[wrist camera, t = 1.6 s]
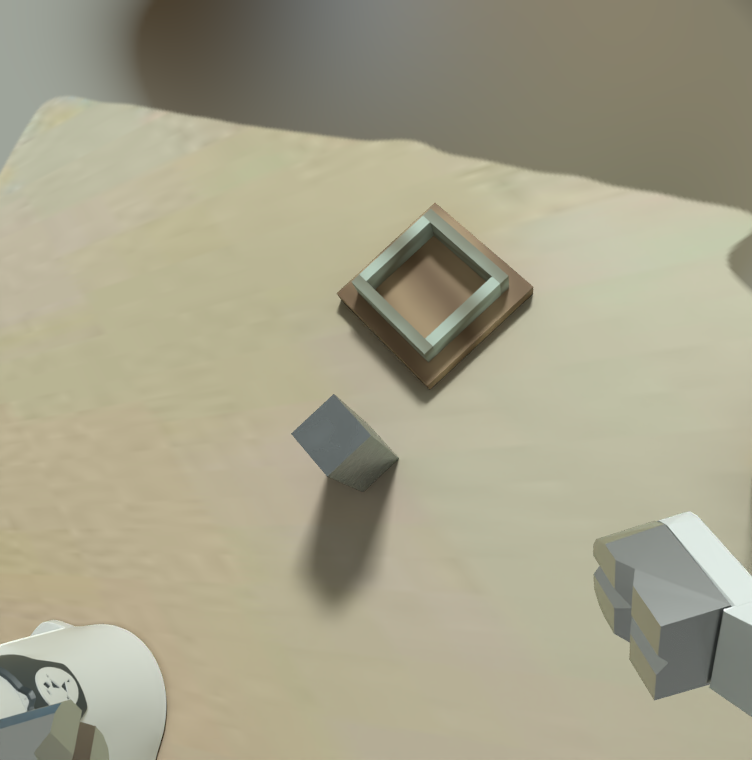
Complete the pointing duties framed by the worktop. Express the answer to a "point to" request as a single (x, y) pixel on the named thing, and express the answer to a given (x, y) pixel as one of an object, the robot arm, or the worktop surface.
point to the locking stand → (434, 294)
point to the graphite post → (344, 445)
